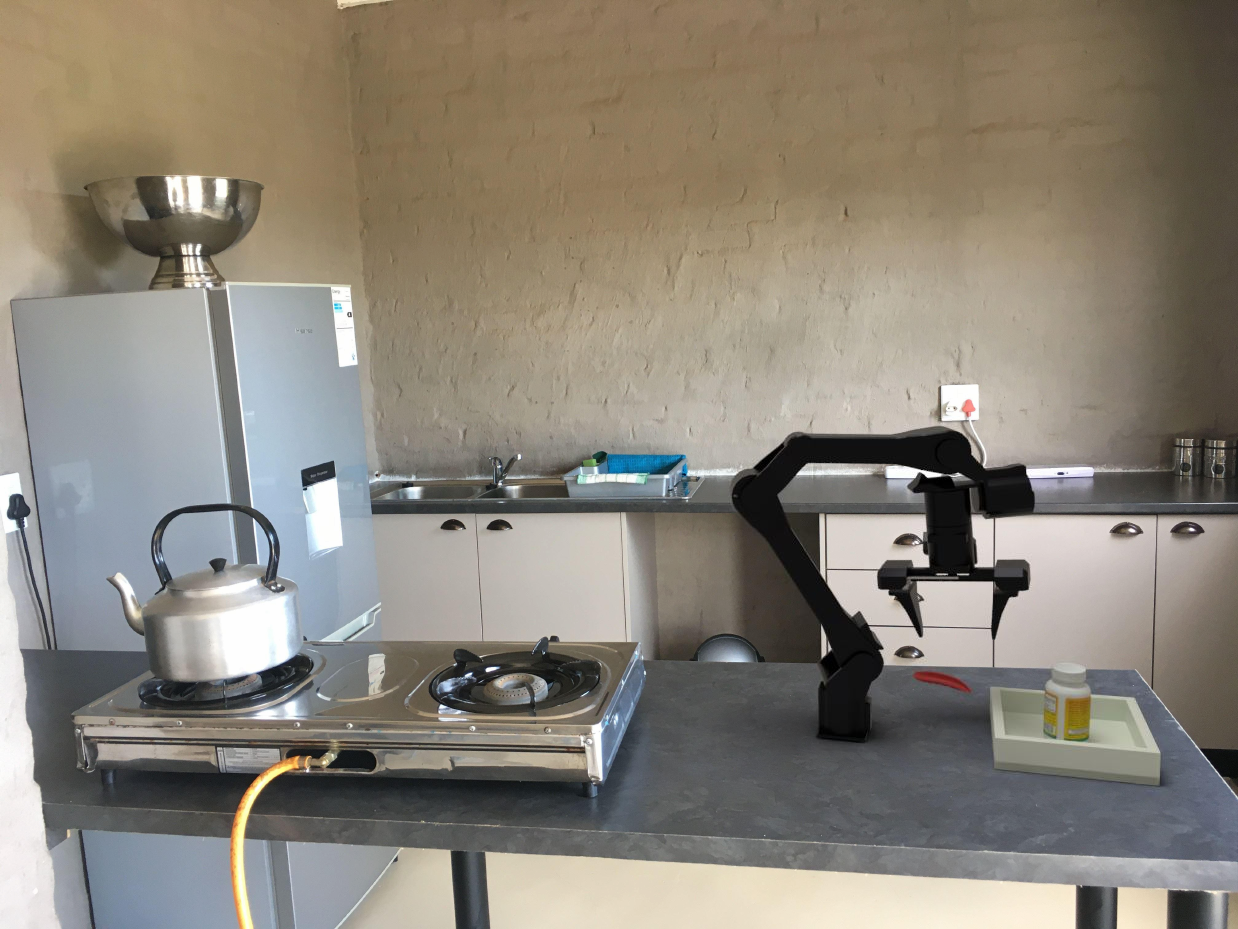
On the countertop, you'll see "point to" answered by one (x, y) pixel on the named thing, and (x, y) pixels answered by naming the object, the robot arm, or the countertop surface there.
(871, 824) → the countertop surface
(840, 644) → the robot arm
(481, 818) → the countertop surface
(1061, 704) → the supplement bottle
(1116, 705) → the tray
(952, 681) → the cayenne pepper
